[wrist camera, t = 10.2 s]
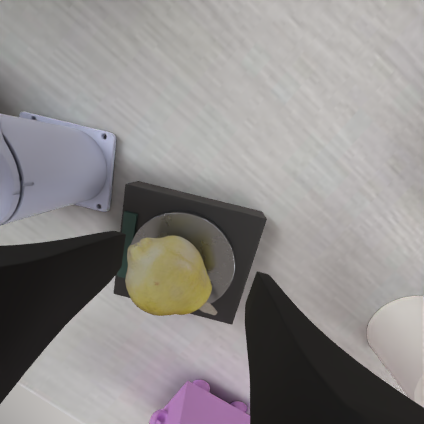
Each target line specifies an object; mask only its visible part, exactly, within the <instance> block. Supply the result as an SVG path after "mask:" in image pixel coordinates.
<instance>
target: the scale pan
mask: <svg viewBox="0 0 424 424" xmlns="http://www.w3.org/2000/svg"><path fill="white" fill-rule="evenodd" d="M172 235H174V236H180V237H182V238H184V239H186V240H188V241H189V242H190V243H192V244H193V245H194V246H195V248H196V249H197V250H198V251H199V253H200V255H201V257H202V260H203V263H204V265H205V268H206V271H207V274H208V276H209V279H210V282H211V285H212V290H211V294H210V296H209V298H208V300H207V302H209V303H210V304H211V303H213V302H214V301H216V300H217V299H219V298H220V297H221V296H222V295H223V294H224V293H225V292H226V290H227V289H228V287H229V286H230V284H231V282H232V279H233V276H234V271H235V257H234V251H233V248H232V245H231V242H230V240H229V239H228V237H227V235H226V234H225V233H224V231H223V230H222V229H221V228H220V227H219V226H218V225H217V224H216V223H214V222H213V221H212V220H210V219H208V218H207V217H205V216H203V215H200V214H197V213H194V212H190V211H180V210H178V211H169V212H165V213H162V214H159V215H157V216H155V217H153V218H152V219H150V220H149V221H148V222H146V223H145V224H144V225H143V226H142V227H141V228H140V229H139V230H138V231H137V233H136V234H135V236H134V238H133V240H132V243H131V245H134V244H135V243H137V242H139V241H140V240H141V239H143V238H147V237H148V238H163V237H166V236H172Z"/></svg>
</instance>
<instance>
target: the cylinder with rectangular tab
mask: <svg viewBox="0 0 424 424" xmlns="http://www.w3.org/2000/svg"><path fill="white" fill-rule="evenodd" d="M366 332H367V340H368V342H369V345H370V347H371V348H372V349H373V351H374V352H375V353H376V355H377V356H378V357H379V359H380V360H381V361H382V363H383V364H384V365H385V367H386V368H387V369H388V371H389V372H390V373H391V375H392V376H393V377H394V379H395V380H396V381H397V383H398V384H399V385H400V387H401V388H402V389H403V391H404V392H405V393H406V395H407V396H408V397H409V398H410V399H411V400H413V401H414V402H416V403H417V404H419V405H421V406H422V407H424V296H417V295H416V296H408V297H403V298H400V299H397V300H394V301H391V302H390V303H388V304H386V305H385V306H383V307H381V308H380V309H379V310H378V311H377V312H376V313H375V314H374V315H373V317H372V318H371V320H370V322H369V324H368V327H367V331H366Z"/></svg>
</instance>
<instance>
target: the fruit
mask: <svg viewBox="0 0 424 424" xmlns="http://www.w3.org/2000/svg"><path fill="white" fill-rule="evenodd" d="M127 261H128V268H127V273H126V279H125V283H126V288H127V291H128V293H129V296H130V298H131V299H132V301H133V302H134V303H135V305H136V306H137V307H139V308H140V309H141V310H143V311H145V312H147V313H150V314H153V315H158V316H164V315H173V314H179V315H184V314H189V313H192V312H194V311H196V310H198V309H199V310H201V311H202V312H205V313H209V314H212V315H216V314H217V311H216V310H215V308H214V307H213V306H212V305H211V304H210V303H209V302H207V300H208V298H209V296H210V294H211V290H212V285H211V282H210V279H209V276H208V274H207V271H206V268H205V265H204V263H203V260H202V257H201V255H200V253H199V251H198V250H197V249H196V248H195V246H194V245H193V244H192V243H190V242H189V241H188V240H186V239H184V238H182V237H180V236H174V235H172V236H166V237H163V238H148V237H147V238H143V239H141V240H140V241H139V242H137V243H135V244H134V245H130V246H129V247H128V252H127Z"/></svg>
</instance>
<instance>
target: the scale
mask: <svg viewBox="0 0 424 424" xmlns="http://www.w3.org/2000/svg"><path fill="white" fill-rule="evenodd" d="M178 210H180V211H190V212H194V213H197V214H200V215H203V216H205V217H207V218H208V219H210V220H212V221H213V222H214V223H216V224H217V225H218V226H219V227H220V228H221V229H222V230H223V231H224V233H225V234H226V235H227V237H228V239H229V240H230V242H231V245H232V248H233V251H234V257H235V271H234V276H233V279H232V282H231V284H230V286H229V287H228V289H227V290H226V292H225V293H224V294H223V295H222V296H221V297H220V298H219V299H217V300H216V301H214V302H213V303H211V305H212V306H213V307H214V308H215V310H216V311H217V314H216V315H212V314H209V313H205V312H202V311H201V310H199V309H198V310H196V311H194V312H192V313H190V314H194V315H198V316H201V317H205V318H209V319H213V320H217V321H221V322H224V323H228V324H233V321H234V318H235V315H236V311H237V308H238V305H239V302H240V299H241V296H242V293H243V290H244V287H245V284H246V281H247V278H248V275H249V272H250V269H251V265H252V262H253V259H254V256H255V253H256V250H257V247H258V244H259V241H260V238H261V235H262V232H263V229H264V226H265V222H266V217H265V216H264V214H263V212H261V211H257V210H253V209H249V208H245V207H241V206H237V205H233V204H229V203H225V202H221V201H217V200H213V199H209V198H205V197H200V196H196V195H192V194H188V193H184V192H180V191H176V190H172V189H168V188H164V187H160V186H156V185H152V184H148V183H144V182H140V181H137V182H132V183H128V184H126V187H125V196H124V205H123V214H122V223H121V232H120V233H124V234H126V237H125V245H124V252H123V259H122V267H121V268H120V270H119V271H118V272H117V273H116V277H115V286H114V294H117V295H121V296H125V297H129V298H130V296H129V293H128V291H127V288H126V283H125V279H126V273H127V268H128V261H127V252H128V247H129V246H130V245H131V243H132V240H133V238H134V236H135V234H136V233H137V231H138V230H139V229H140V228H141V227H142V226H143V225H144V224H145V223H146V222H148V221H149V220H150V219H152V218H153V217H155V216H157V215H159V214H162V213H165V212H169V211H178Z"/></svg>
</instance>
